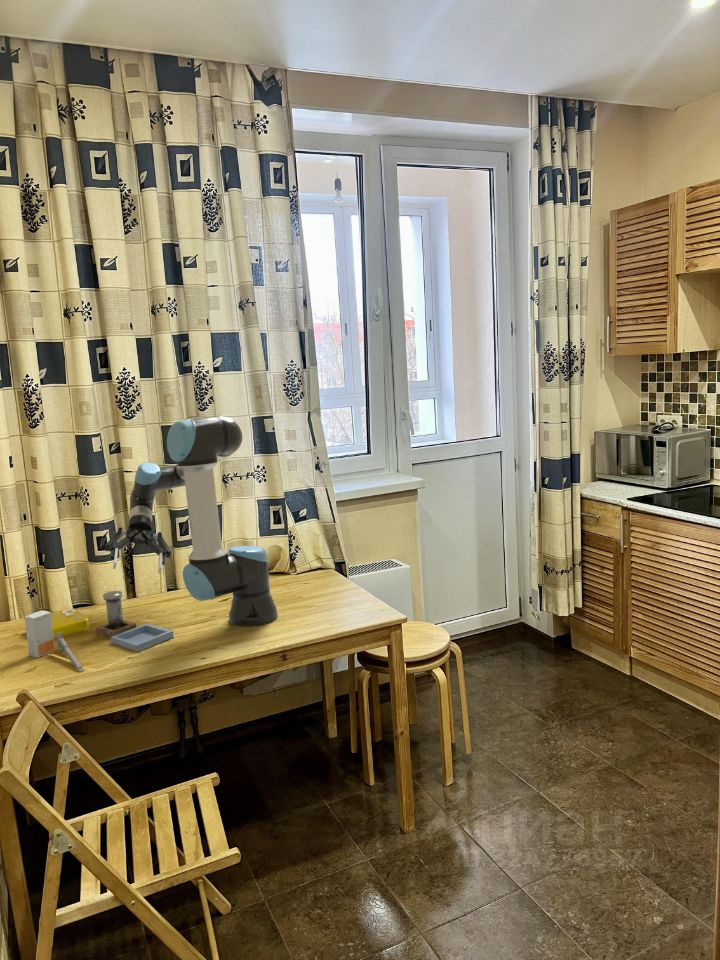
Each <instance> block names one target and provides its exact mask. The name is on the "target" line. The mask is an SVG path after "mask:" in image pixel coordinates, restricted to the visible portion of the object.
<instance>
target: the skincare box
mask: <svg viewBox="0 0 720 960" xmlns="http://www.w3.org/2000/svg"><path fill="white" fill-rule="evenodd" d="M51 614H52V612H51V611H47V610H39V611H37V612H33V613H31V614H29V615H25V616H24V624H25V631H26V633H25V634H26V639H27V649H28V656H29V657H34V658H38V659H39V658H40V657H43V656H45V655H47V654H51V652H52V651H54V650H56V645H55V638H54V635H53V627H52V618H51Z"/></svg>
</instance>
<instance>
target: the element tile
mask: <svg viewBox="0 0 720 960" xmlns="http://www.w3.org/2000/svg"><path fill="white" fill-rule="evenodd" d="M51 618H52V627H53V635H54V639H57V636H58V635H57V633H60V632H61V634H62V637H65V636H69V635H72V634H76V633H80V632H86V631H87V630H89V629H90V621H89V617H88V616H86V615H85V614H84V613H83V612H82V611H80V609H77V608H69V609H65V610H61V611H57V612H56V611H55V612H53V613H52V612H51Z"/></svg>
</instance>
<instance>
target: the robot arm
mask: <svg viewBox="0 0 720 960" xmlns="http://www.w3.org/2000/svg"><path fill="white" fill-rule="evenodd" d="M242 442H243V431H242V429H241V427H240V425H239V424H238V423H237V422H236V421H235V420H234V419H233V418H230V417H227V416H221V415H217V416H216V415H215V416H208V417H198V418H188V419H183V420H182V419H181V420H179V421H175V422H174V423H173V424H172V425H171V426H170V428H169V430H168V433H167V439H166V447H167V448H166V449H167V453H168V454H169V457H170V459H171V460H172V461H174V462H176V463H177V464H175V465H170V466H169V465H168V466H163V467H159V465H157V464H155V463H153V462H151V463H150V462H142V463H141V464H139V466H138V467H137V470H136V472H135V475H134V482H133V488H132V490H131V492H130V497H129V514H128V525H127V530H125V529H123V527H121V526H119V527H118V529H117V531H116V533H115V534H114V535H113V536H112V537H111V538H110V539H109V540H108V541H107V542H106V544H105V548H104V551H105V552H110V553H109V554H110V557H109V558H110V560H113V565H112V569H113V570H116V569H117V563H118V554H119V553H118V551H120V550H121V549H123V548H125V547H126V546H127V545H130V544H137V545H138V544H139V545H145V546H146V547H148V548H150V549H151V550H152V551H153V552H154V553H155V554H156V556H158V560H157V561H158V562H157V565H158V566H157V573H158V574H159V575H161V573H162V569H163V566H164V565H165V564H166V559H170V558H171V557H172V556H171V555H172V553H173V552H172V548H170V546H169V545H168V543H167V542H166V540H165V539H164V538H163V534H162V532H161V531H158V532H157V533H153V510H154V509H153V508H154V501H155V497H156V493H157V491H163V490H168V489H175V488H179V487H185V495H186V502H187V511H188V521H189V529H190V535H191V536H190V539H191V545H192V551H191V553H190V554H189V555H188V564H186V565H185V566H184V567H183V568H182V569H183V570H182V579H183V583H184V586H185V588H186V590H187V591H188V593H189V595H190V596H191V597H192V598H193V599H195V600H196V601H199V602H204V601H208V600H214V599H215V598H220V597H223V596H225V595H226V596H227V595H230V594H232V599H231V606H230V610H229V612H228V618H229V623H230V624H232V625H233V626H238V625H239V626H238V627H254V625H256V626H262V625H265V624H264V623H266V624H268V622H269V623H272V622H273V621H274V620H276V619H277V618H278V609H277V607H276V606H277V605H275V601H274V599H273V597H272V594H271V589H270V579H269V560H268V555H267V551H266V550H265V549H264V548H262V547H260V546H254V545H238V546H231V547H230V548H229V549H228V550H227V549H225V548H224V547H223V544H222V536H221V527H220V526H221V524H220V518H219V508H218V501H217V492H216V483H215V474H214V467H215V466H216V465H217V464H218V461H219V460H221V459H222V458H228V457H230V456H231V455H233V454H234V453H235V452H236V451H238V449H239V448H240V447H241V444H242ZM137 498H138V499H137ZM123 536H126V537H123ZM122 537H123V538H122ZM121 538H122V539H121ZM261 624H262V625H261Z"/></svg>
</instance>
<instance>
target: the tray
mask: <svg viewBox="0 0 720 960" xmlns="http://www.w3.org/2000/svg"><path fill="white" fill-rule="evenodd" d="M174 636H175V635H174V631H173V630H170V629H166V628H164V627H162V626H161V627H160V626H157V625H152V624H149V623H144V624H142V625H140V626H136V628H134V629H131V630H128V631H126V632H123V633H120V634H118V635H115V636H112V637H111V638H110V641H111V642H110V643H111V644H112V645H113V644H114V645H115V646H120V647H123V648H126V649H129V650H131V651H135V652H137V654H140V653H143V652H145V651H147V650H150V649H152V648H154V646H155V647H157V646H159V645H158V644H160V645H162V644H164V643H163V642H165V643H167V642H169V641H171V639H172V640H174V639H175V638H174ZM168 640H169V641H168ZM166 641H167V642H166ZM161 643H162V644H161ZM156 645H157V646H156ZM142 651H143V652H142Z"/></svg>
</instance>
